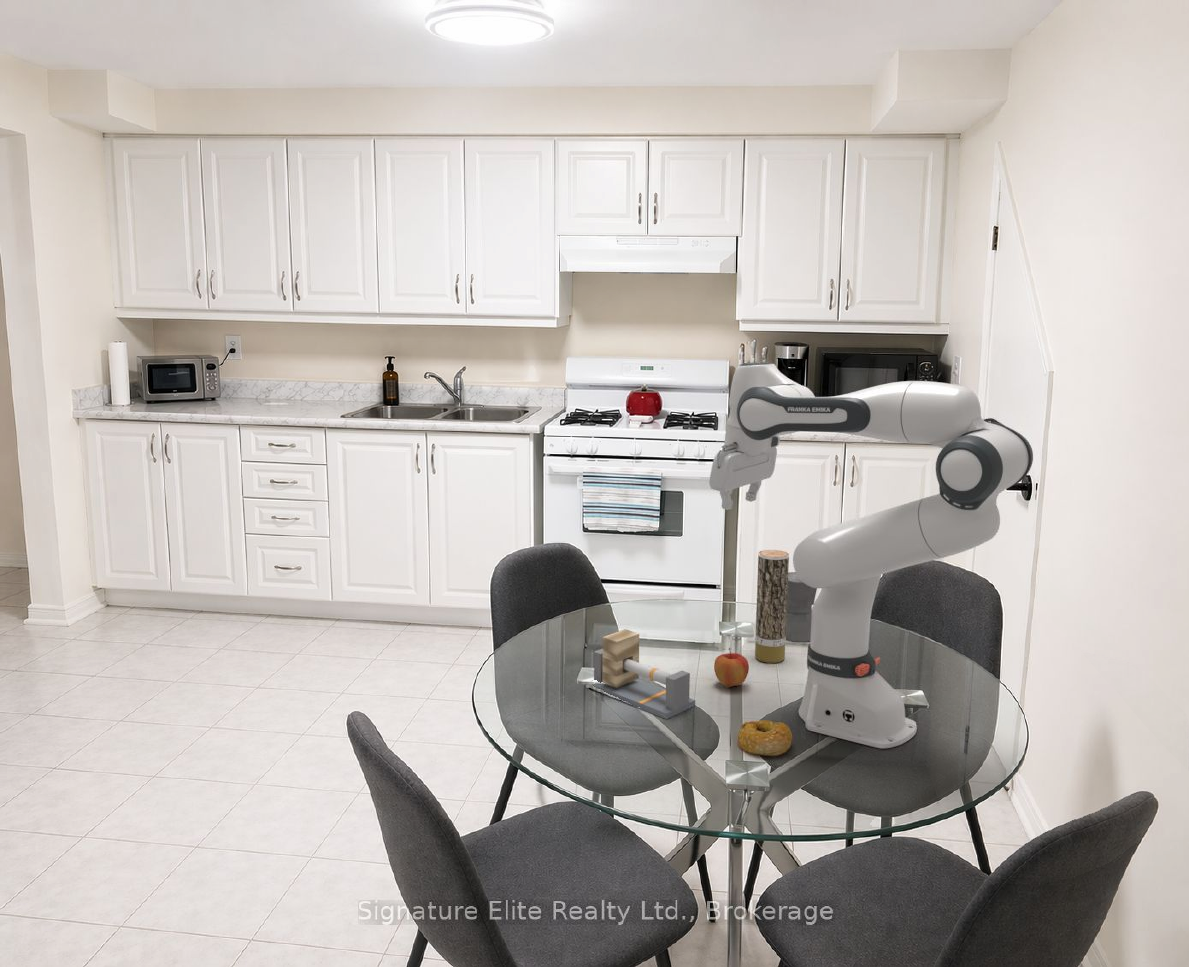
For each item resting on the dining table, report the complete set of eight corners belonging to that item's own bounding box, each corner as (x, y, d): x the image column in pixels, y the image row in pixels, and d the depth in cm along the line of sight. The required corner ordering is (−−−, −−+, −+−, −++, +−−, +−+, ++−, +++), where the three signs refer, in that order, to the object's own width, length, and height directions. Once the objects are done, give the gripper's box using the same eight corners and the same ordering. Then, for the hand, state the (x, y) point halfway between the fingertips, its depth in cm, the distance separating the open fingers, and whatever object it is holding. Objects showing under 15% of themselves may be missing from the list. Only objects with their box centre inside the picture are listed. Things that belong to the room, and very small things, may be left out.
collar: (638, 678, 202) (639, 633, 201) (616, 687, 198) (616, 641, 196) (625, 673, 205) (625, 629, 203) (602, 682, 200) (602, 637, 198)
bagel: (783, 732, 182) (784, 708, 181) (797, 759, 171) (798, 735, 170) (732, 733, 182) (732, 710, 181) (743, 761, 171) (743, 736, 170)
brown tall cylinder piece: (783, 654, 222) (787, 550, 217) (786, 664, 216) (790, 558, 211) (753, 652, 223) (757, 549, 218) (755, 663, 216) (759, 557, 212)
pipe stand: (695, 705, 194) (696, 670, 192) (666, 719, 187) (667, 682, 186) (616, 676, 209) (616, 643, 207) (587, 688, 202) (587, 654, 201)
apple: (721, 694, 199) (722, 658, 198) (708, 681, 206) (709, 646, 205) (753, 690, 201) (755, 654, 200) (739, 677, 208) (740, 642, 207)
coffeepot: (766, 639, 232) (769, 567, 229) (773, 626, 241) (775, 558, 237) (831, 646, 227) (834, 574, 224) (835, 634, 236) (839, 563, 232)
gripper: (733, 449, 184) (725, 517, 188) (784, 436, 200) (776, 499, 204) (705, 443, 188) (698, 510, 192) (758, 431, 204) (750, 492, 207)
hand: (738, 504), depth 198 cm, fingers open, 8 cm apart
